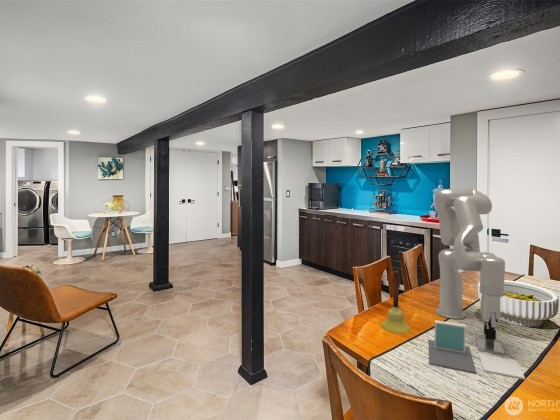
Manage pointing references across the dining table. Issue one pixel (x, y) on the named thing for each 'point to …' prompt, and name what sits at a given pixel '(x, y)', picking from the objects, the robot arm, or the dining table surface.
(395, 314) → the handbell
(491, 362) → the pad
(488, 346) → the post on square base
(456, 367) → the tile mat
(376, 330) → the dining table surface
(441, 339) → the tile
